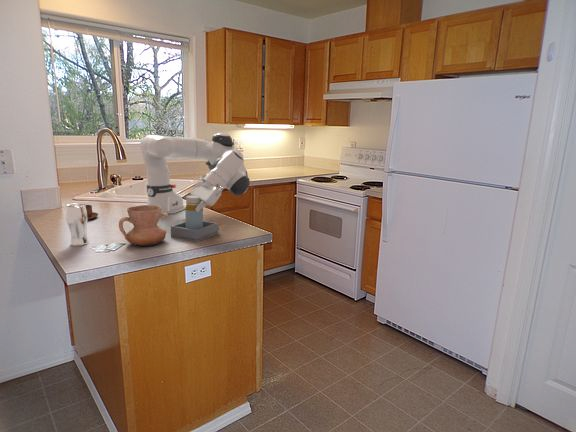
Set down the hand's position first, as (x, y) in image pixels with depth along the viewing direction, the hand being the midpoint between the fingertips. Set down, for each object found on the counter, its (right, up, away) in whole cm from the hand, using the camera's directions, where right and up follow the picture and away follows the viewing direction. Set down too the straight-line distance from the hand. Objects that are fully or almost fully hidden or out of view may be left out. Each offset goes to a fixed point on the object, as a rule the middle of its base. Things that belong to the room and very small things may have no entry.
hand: (192, 208), depth 158 cm
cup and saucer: (-58, -5, +26) cm, 64 cm away
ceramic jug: (-16, -14, -9) cm, 23 cm away
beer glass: (-41, -14, -10) cm, 44 cm away
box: (0, -11, +3) cm, 11 cm away
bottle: (0, -10, +3) cm, 10 cm away
